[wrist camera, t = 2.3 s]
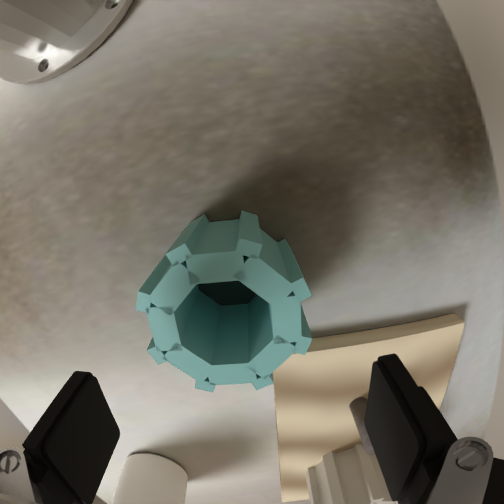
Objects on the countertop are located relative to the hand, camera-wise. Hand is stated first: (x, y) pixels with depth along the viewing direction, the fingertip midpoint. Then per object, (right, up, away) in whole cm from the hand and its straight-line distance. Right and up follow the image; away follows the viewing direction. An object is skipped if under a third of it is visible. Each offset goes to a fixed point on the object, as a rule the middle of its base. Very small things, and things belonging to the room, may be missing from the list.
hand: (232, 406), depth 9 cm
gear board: (+10, -10, +14) cm, 19 cm away
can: (-9, -16, +16) cm, 24 cm away
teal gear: (-1, +4, +9) cm, 10 cm away
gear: (+9, -15, +14) cm, 22 cm away
